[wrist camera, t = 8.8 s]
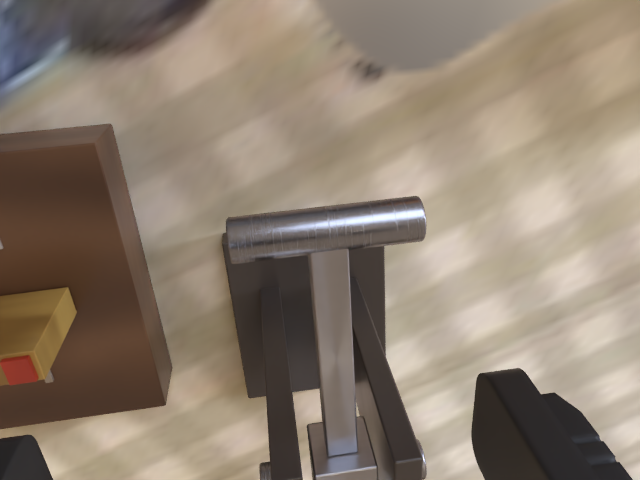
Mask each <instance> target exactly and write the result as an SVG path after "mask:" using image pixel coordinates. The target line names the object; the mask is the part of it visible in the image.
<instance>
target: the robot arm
mask: <svg viewBox="0 0 640 480" xmlns="http://www.w3.org/2000/svg"><path fill="white" fill-rule="evenodd" d="M472 444H473V450H474V454H475V457H476V460H477V463H478V466H479V468H480V470H481V472H482V474H483V476H484V478H485V480H632V478H631V477H630V476H629V474H628V473H627V472H626V470H625V469H624V468H623V466H622V465H621V464H620V462H616V460H615V456H614V455H613V453H612V452H611V451H610V449H609V448H608V447H607V445H606V444H605V443H604V441H601V440H600V438H599V435H598V434H597V432H596V431H595V430H594V428H593V427H592V426H591V424H590V423H589V422H588V420H587V419H586V418H585V417H584V415H583V414H582V413H581V412H580V411H579V410H578V409H576V408H575V407H574V406H572V405H571V404H569V403H568V402H567V401H565V400H564V399H562V398H561V397H560V396H558V395H557V394H556V393H548V394H540V393H539V391H538V390H537V388H536V387H535V386H534V384H533V383H532V381H531V380H530V378H529V377H528V376H527V374H526V373H525V372H524V371H523V370H522V369H520V368H516V369H508V370H501V371H494V372H487V373H480V374H479V375H478V377H477V381H476V390H475V401H474V411H473V421H472ZM0 480H53V478H52V476H51V474H50V471H49V469H48V467H47V464H46V462H45V459H44V457H43V455H42V452H41V450H40V448H39V445H38V443H37V441H36V439H35V438H34V437H33V436H32V435H23V436H16V437H9V438H1V439H0Z"/></svg>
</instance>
